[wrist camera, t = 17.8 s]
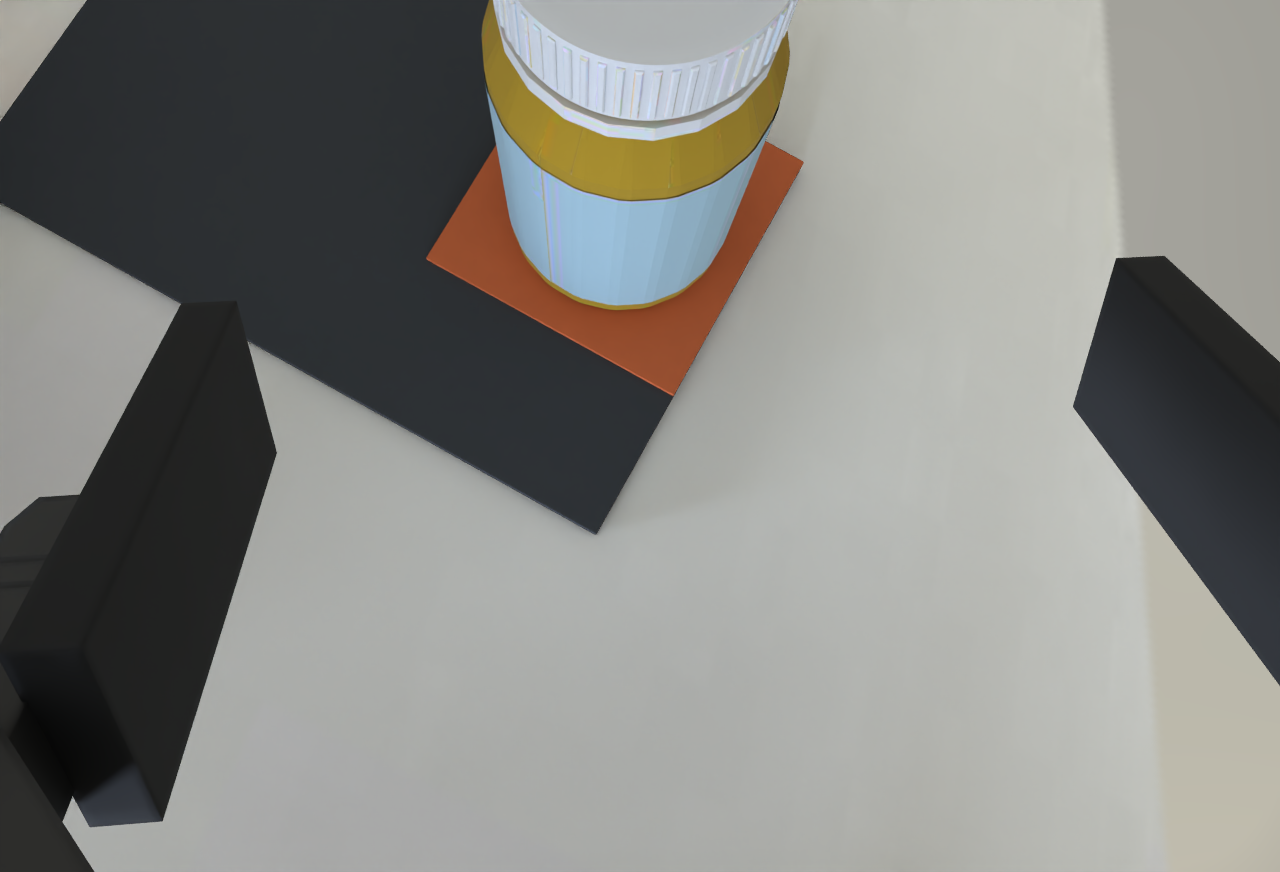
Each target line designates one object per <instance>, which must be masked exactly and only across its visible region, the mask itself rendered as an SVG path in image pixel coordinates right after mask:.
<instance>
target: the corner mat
mask: <svg viewBox="0 0 1280 872" xmlns="http://www.w3.org/2000/svg"><path fill="white" fill-rule="evenodd" d="M488 2H489V0H87V1H86V2H85V4H84V5H83V7H82V8H81V9H80V11H79V12H78V14H77V15H76V16H75V18H74V19H73V21H72V22H71V23H70V25H69V26H68V28H67V29H66V30H65V32H64V33H63V34H62V36H61V37H60V39H59V40H58V41H57V43H56V44H55V46H54V47H53V48H52V50H51V51H50V53H49V54H48V55H47V57H46V58H45V60H44V61H43V62H42V64H41V65H40V67H39V68H38V69H37V71H36V72H35V74H34V75H33V76H32V78H31V79H30V81H29V82H28V83H27V85H26V86H25V88H24V89H23V90H22V92H21V93H20V95H19V96H18V97H17V99H16V100H15V102H14V103H13V104H12V106H11V107H10V109H9V110H8V111H7V113H6V114H5V116H4V117H3V118H2V120H1V121H0V203H2V204H4V205H5V206H7V207H9V208H11V209H13V210H14V211H16V212H18V213H20V214H22V215H23V216H25V217H27V218H29V219H30V220H32V221H34V222H36V223H38V224H39V225H41V226H43V227H45V228H47V229H48V230H50V231H52V232H54V233H56V234H57V235H59V236H61V237H63V238H65V239H66V240H68V241H70V242H72V243H73V244H75V245H77V246H79V247H81V248H82V249H84V250H86V251H88V252H90V253H91V254H93V255H95V256H97V257H99V258H100V259H102V260H104V261H106V262H108V263H109V264H111V265H113V266H115V267H116V268H118V269H120V270H122V271H124V272H125V273H127V274H129V275H131V276H133V277H134V278H136V279H138V280H140V281H142V282H143V283H145V284H147V285H149V286H151V287H152V288H154V289H156V290H158V291H159V292H161V293H163V294H165V295H167V296H168V297H170V298H172V299H174V300H176V301H177V302H179V303H181V304H182V303H195V302H216V301H237V305H238V308H239V312H240V316H241V320H242V323H243V327H244V331H245V335H246V339H247V341H249V342H251V343H253V344H254V345H256V346H258V347H260V348H262V349H263V350H265V351H267V352H269V353H271V354H272V355H274V356H276V357H278V358H280V359H281V360H283V361H285V362H287V363H288V364H290V365H292V366H294V367H296V368H297V369H299V370H301V371H303V372H305V373H306V374H308V375H310V376H312V377H314V378H315V379H317V380H319V381H321V382H323V383H324V384H326V385H328V386H330V387H331V388H333V389H335V390H337V391H339V392H340V393H342V394H344V395H346V396H348V397H349V398H351V399H353V400H355V401H357V402H358V403H360V404H362V405H364V406H366V407H367V408H369V409H371V410H373V411H374V412H376V413H378V414H380V415H382V416H383V417H385V418H387V419H389V420H391V421H392V422H394V423H396V424H398V425H400V426H401V427H403V428H405V429H407V430H409V431H410V432H412V433H414V434H416V435H417V436H419V437H421V438H423V439H425V440H426V441H428V442H430V443H432V444H434V445H435V446H437V447H439V448H441V449H443V450H444V451H446V452H448V453H450V454H452V455H453V456H455V457H457V458H459V459H460V460H462V461H464V462H466V463H468V464H469V465H471V466H473V467H475V468H477V469H478V470H480V471H482V472H484V473H486V474H487V475H489V476H491V477H493V478H495V479H496V480H498V481H500V482H502V483H503V484H505V485H507V486H509V487H511V488H512V489H514V490H516V491H518V492H520V493H521V494H523V495H525V496H527V497H529V498H530V499H532V500H534V501H536V502H538V503H539V504H541V505H543V506H545V507H546V508H548V509H550V510H552V511H554V512H555V513H557V514H559V515H561V516H563V517H564V518H566V519H568V520H570V521H572V522H573V523H575V524H577V525H579V526H581V527H582V528H584V529H586V530H588V531H589V532H591V533H593V534H597V532H598V531H599V529H600V527H601V525H602V523H603V522H604V520H605V518H606V516H607V515H608V513H609V511H610V509H611V507H612V506H613V504H614V502H615V500H616V498H617V497H618V495H619V493H620V491H621V489H622V488H623V486H624V484H625V482H626V480H627V479H628V477H629V475H630V473H631V472H632V470H633V468H634V466H635V464H636V463H637V461H638V459H639V457H640V455H641V454H642V452H643V450H644V448H645V446H646V445H647V443H648V441H649V439H650V437H651V436H652V434H653V432H654V430H655V429H656V427H657V425H658V423H659V421H660V420H661V418H662V416H663V414H664V412H665V411H666V409H667V407H668V405H669V403H670V402H671V400H672V398H673V396H674V394H675V393H676V391H677V389H678V387H679V386H680V384H681V382H682V380H683V378H684V377H685V375H686V373H687V371H688V369H689V368H690V366H691V364H692V362H693V360H694V359H695V357H696V355H697V353H698V351H699V350H700V348H701V346H702V344H703V342H704V341H705V339H706V337H707V335H708V334H709V332H710V330H711V328H712V326H713V325H714V323H715V321H716V319H717V317H718V316H719V314H720V312H721V310H722V308H723V307H724V305H725V303H726V301H727V299H728V298H729V296H730V294H731V292H732V291H733V289H734V287H735V285H736V283H737V282H738V280H739V278H740V276H741V274H742V273H743V271H744V269H745V267H746V265H747V264H748V262H749V260H750V258H751V256H752V255H753V253H754V251H755V249H756V248H757V246H758V244H759V242H760V240H761V239H762V237H763V235H764V233H765V231H766V230H767V228H768V226H769V224H770V222H771V221H772V219H773V217H774V215H775V213H776V212H777V210H778V208H779V206H780V205H781V203H782V201H783V199H784V197H785V196H786V194H787V192H788V190H789V188H790V187H791V185H792V183H793V181H794V179H795V178H796V176H797V174H798V172H799V170H800V169H801V167H802V165H803V163H804V162H803V161H801V160H799V159H797V158H796V157H794V156H792V155H790V154H788V153H786V152H785V151H783V150H781V149H779V148H777V147H775V146H774V145H772V144H770V143H768V142H766V141H765V143H764V145H763V148H762V150H761V153H760V155H759V158H758V160H757V162H756V165H755V167H754V170H753V172H752V175H751V177H750V180H749V182H748V185H747V187H746V189H745V192H744V194H743V197H742V199H741V202H740V204H739V207H738V209H737V212H736V214H735V216H734V219H733V221H732V224H731V226H730V229H729V231H728V234H727V236H726V239H725V241H724V243H723V245H722V247H721V248H720V250H719V252H718V253H717V255H716V256H715V258H714V260H713V261H712V263H711V265H710V266H709V268H708V269H707V271H706V272H705V273H704V274H703V275H702V276H701V277H700V278H699V279H698V280H697V281H696V282H694V283H693V284H692V285H691V286H690V287H688V288H687V289H686V290H685V291H683V292H682V293H681V294H679V295H677V296H676V297H673V298H671V299H668V300H666V301H663V302H661V303H658V304H656V305H653V306H651V307H646V308H641V309H626V310H608V309H603V308H599V307H595V306H591V305H587V304H583V303H580V302H578V301H575V300H573V299H571V298H570V297H568V296H566V295H565V294H563V293H561V292H560V291H558V290H556V289H555V288H553V287H551V286H550V285H549V284H548V283H547V282H545V281H544V280H543V278H542V277H541V276H540V275H539V274H538V273H537V272H536V270H535V269H534V268H533V267H532V266H531V265H530V264H529V262H528V261H527V260H526V258H525V256H524V255H523V253H522V250H521V248H520V246H519V243H518V241H517V238H516V236H515V234H514V231H513V227H512V225H511V221H510V217H509V212H508V207H507V201H506V195H505V190H504V184H503V179H502V173H501V168H500V162H499V157H498V151H497V146H496V140H495V135H494V129H493V123H492V118H491V112H490V107H489V101H488V96H487V90H486V85H485V76H484V62H483V48H482V25H483V20H484V16H485V13H486V9H487V6H488Z"/></svg>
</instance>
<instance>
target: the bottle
mask: <svg viewBox="0 0 1280 872" xmlns="http://www.w3.org/2000/svg"><path fill="white" fill-rule="evenodd" d="M797 2H798V0H489V2H488V6H487V9H486V13H485V16H484V20H483V25H482V48H483V62H484V76H485V85H486V90H487V96H488V101H489V107H490V112H491V118H492V123H493V129H494V135H495V140H496V146H497V151H498V157H499V162H500V168H501V173H502V179H503V184H504V190H505V195H506V201H507V207H508V212H509V217H510V221H511V225H512V227H513V231H514V234H515V236H516V238H517V241H518V243H519V246H520V248H521V250H522V253H523V255H524V256H525V258H526V260H527V261H528V262H529V264H530V265H531V266H532V267H533V268H534V269H535V270H536V272H537V273H538V274H539V275H540V276H541V277H542V278H543V280H544V281H545V282H547V283H548V284H549V285H550V286H551V287H553V288H555V289H556V290H558V291H560V292H561V293H563V294H565V295H566V296H568V297H570V298H571V299H573V300H575V301H578V302H580V303H583V304H587V305H591V306H595V307H599V308H603V309H608V310H626V309H641V308H646V307H651V306H653V305H656V304H658V303H661V302H663V301H666V300H668V299H671V298H673V297H676V296H677V295H679V294H681V293H682V292H683V291H685V290H686V289H687V288H688V287H690V286H691V285H692V284H693V283H694V282H696V281H697V280H698V279H699V278H700V277H701V276H702V275H703V274H704V273H705V272H706V271H707V269H708V268H709V266H710V265H711V263H712V261H713V260H714V258H715V256H716V255H717V253H718V252H719V250H720V248H721V247H722V245H723V243H724V241H725V239H726V236H727V234H728V231H729V229H730V226H731V224H732V221H733V219H734V216H735V214H736V212H737V209H738V207H739V204H740V202H741V199H742V197H743V194H744V192H745V189H746V187H747V185H748V182H749V180H750V177H751V175H752V172H753V170H754V167H755V165H756V162H757V160H758V158H759V155H760V153H761V150H762V148H763V145H764V143H765V140H766V138H767V135H768V133H769V131H770V128H771V126H772V123H773V121H774V118H775V116H776V113H777V111H778V108H779V104H780V99H781V97H782V93H783V89H784V84H785V80H786V76H787V71H788V67H789V56H790V50H789V41H788V33H787V29H788V26H789V24H790V21H791V18H792V15H793V13H794V10H795V7H796V5H797Z"/></svg>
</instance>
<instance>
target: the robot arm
mask: <svg viewBox="0 0 1280 872" xmlns="http://www.w3.org/2000/svg"><path fill="white" fill-rule="evenodd" d="M1073 407H1074V409H1075V410H1076V412H1077V413H1078V414H1079V416H1080V417H1081V418H1082V420H1083V421H1084V422H1085V424H1086V425H1087V426H1088V428H1089V429H1090V430H1091V432H1092V433H1093V434H1094V436H1095V437H1096V438H1097V440H1098V441H1099V443H1100V444H1101V445H1102V447H1103V448H1104V449H1105V451H1106V452H1107V453H1108V455H1109V456H1110V457H1111V459H1112V460H1113V461H1114V463H1115V464H1116V465H1117V467H1118V468H1119V469H1120V471H1121V472H1122V474H1123V475H1124V476H1125V478H1126V479H1127V480H1128V482H1129V483H1130V484H1131V486H1132V487H1133V488H1134V490H1135V491H1136V492H1137V494H1138V495H1139V496H1140V498H1141V499H1142V500H1143V502H1144V503H1145V505H1146V506H1147V507H1148V509H1149V510H1150V511H1151V513H1152V514H1153V515H1154V517H1155V518H1156V519H1157V521H1158V522H1159V523H1160V525H1161V526H1162V527H1163V529H1164V530H1165V531H1166V533H1167V534H1168V536H1169V537H1170V538H1171V540H1172V541H1173V542H1174V544H1175V545H1176V546H1177V548H1178V549H1179V550H1180V552H1181V553H1182V554H1183V556H1184V557H1185V558H1186V560H1187V561H1188V563H1189V564H1190V565H1191V567H1192V568H1193V569H1194V571H1195V572H1196V573H1197V574H1198V576H1199V577H1200V578H1201V580H1202V581H1203V582H1204V584H1205V585H1206V587H1207V588H1208V589H1209V591H1210V592H1211V594H1212V595H1213V596H1214V597H1215V599H1216V600H1217V602H1218V603H1219V604H1220V606H1221V607H1222V608H1223V610H1224V611H1225V612H1226V614H1227V615H1228V616H1229V618H1230V619H1231V620H1232V622H1233V623H1234V624H1235V626H1236V627H1237V629H1238V630H1239V631H1240V633H1241V634H1242V635H1243V636H1244V638H1245V639H1246V641H1247V642H1248V643H1249V645H1250V646H1251V647H1252V649H1253V650H1254V651H1255V653H1256V654H1257V656H1258V657H1259V658H1260V659H1261V661H1262V662H1263V664H1264V665H1265V666H1266V668H1267V669H1268V670H1269V672H1270V673H1271V674H1272V676H1273V677H1274V678H1275V680H1276V681H1277V682H1278V684H1279V685H1280V362H1279V361H1278V360H1277V359H1276V358H1275V357H1274V356H1272V355H1271V354H1270V353H1269V352H1268V351H1267V350H1266V349H1265V348H1264V347H1263V346H1262V345H1260V344H1259V343H1258V342H1257V341H1256V340H1255V339H1254V338H1253V337H1252V336H1250V334H1249V333H1247V332H1246V331H1245V330H1244V329H1243V328H1242V327H1241V326H1240V325H1239V324H1238V323H1237V322H1236V321H1234V320H1233V319H1232V318H1231V317H1230V316H1229V315H1228V314H1227V313H1226V312H1225V311H1223V309H1221V308H1220V307H1219V306H1218V305H1217V304H1216V303H1215V302H1214V301H1213V300H1212V299H1210V297H1208V296H1207V295H1206V294H1205V293H1204V292H1203V291H1202V290H1201V289H1200V288H1199V287H1198V286H1196V285H1195V284H1194V283H1193V282H1192V281H1191V280H1190V279H1189V278H1188V277H1187V276H1186V275H1185V274H1183V273H1182V272H1181V271H1180V270H1179V269H1178V268H1177V267H1176V266H1175V265H1174V264H1173V263H1172V262H1170V261H1169V260H1168V259H1167V258H1166V257H1165V256H1155V257H1132V258H1116V261H1115V264H1114V267H1113V271H1112V274H1111V278H1110V281H1109V285H1108V288H1107V292H1106V295H1105V298H1104V302H1103V305H1102V309H1101V312H1100V316H1099V319H1098V322H1097V326H1096V329H1095V333H1094V336H1093V340H1092V343H1091V346H1090V350H1089V353H1088V357H1087V360H1086V364H1085V367H1084V371H1083V374H1082V377H1081V381H1080V384H1079V388H1078V391H1077V395H1076V398H1075V401H1074V405H1073ZM276 454H277V452H276V448H275V444H274V440H273V437H272V433H271V429H270V425H269V422H268V418H267V414H266V410H265V406H264V403H263V399H262V395H261V391H260V388H259V384H258V380H257V376H256V372H255V369H254V365H253V361H252V357H251V354H250V350H249V346H248V342H247V339H246V335H245V331H244V327H243V323H242V320H241V316H240V312H239V308H238V305H237V301H216V302H195V303H182V304H181V306H180V307H179V309H178V311H177V313H176V315H175V317H174V319H173V321H172V322H171V324H170V326H169V328H168V330H167V332H166V334H165V336H164V338H163V339H162V341H161V343H160V345H159V347H158V349H157V351H156V353H155V354H154V356H153V358H152V360H151V362H150V364H149V366H148V368H147V369H146V371H145V373H144V375H143V377H142V379H141V381H140V383H139V385H138V386H137V388H136V390H135V392H134V394H133V396H132V398H131V400H130V401H129V403H128V405H127V407H126V409H125V411H124V413H123V415H122V416H121V418H120V420H119V422H118V424H117V426H116V428H115V430H114V432H113V433H112V435H111V437H110V439H109V441H108V443H107V445H106V447H105V448H104V450H103V452H102V454H101V456H100V458H99V460H98V462H97V463H96V465H95V467H94V469H93V471H92V473H91V475H90V477H89V479H88V480H87V482H86V484H85V486H84V488H83V490H82V492H81V494H80V495H68V496H52V497H39V498H38V499H36V500H35V501H34V502H33V503H32V504H30V505H29V506H28V507H27V508H26V509H24V510H23V511H22V512H21V513H20V514H19V515H17V516H16V517H15V518H14V519H13V520H11V521H10V522H9V523H8V524H7V525H6V526H4V528H3V530H2V531H1V533H0V872H94V870H93V869H92V867H91V866H90V864H89V863H88V861H87V860H86V858H85V856H84V855H83V853H82V852H81V850H80V849H79V847H78V846H77V844H76V842H75V841H74V839H73V838H72V836H71V835H70V833H69V832H68V830H67V829H66V827H65V825H64V824H63V822H62V821H63V819H64V816H65V814H66V811H67V809H68V806H69V804H70V801H71V799H72V796H73V797H74V799H75V801H76V803H77V805H78V806H79V808H80V810H81V812H82V814H83V816H84V817H85V819H86V821H87V823H88V825H89V827H98V826H111V825H123V824H135V823H147V822H160V821H163V818H164V815H165V812H166V808H167V805H168V802H169V799H170V795H171V792H172V789H173V786H174V783H175V779H176V776H177V773H178V770H179V766H180V763H181V760H182V757H183V754H184V750H185V747H186V744H187V741H188V737H189V734H190V731H191V728H192V725H193V721H194V718H195V715H196V712H197V708H198V705H199V702H200V699H201V696H202V692H203V689H204V686H205V683H206V679H207V676H208V673H209V670H210V667H211V663H212V660H213V657H214V654H215V650H216V647H217V644H218V641H219V638H220V634H221V631H222V628H223V625H224V622H225V618H226V615H227V612H228V609H229V605H230V602H231V599H232V596H233V593H234V589H235V586H236V583H237V580H238V576H239V573H240V570H241V567H242V564H243V560H244V557H245V554H246V551H247V547H248V544H249V541H250V538H251V535H252V531H253V528H254V525H255V522H256V518H257V515H258V512H259V509H260V506H261V502H262V499H263V496H264V493H265V489H266V486H267V483H268V480H269V477H270V473H271V470H272V467H273V464H274V460H275V457H276Z"/></svg>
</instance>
